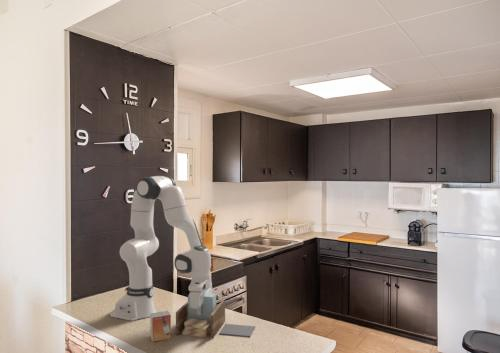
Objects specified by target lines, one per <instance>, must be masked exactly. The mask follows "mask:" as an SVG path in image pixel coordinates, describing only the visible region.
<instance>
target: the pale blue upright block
mask: <svg viewBox="0 0 500 353" xmlns="http://www.w3.org/2000/svg"><path fill="white" fill-rule="evenodd" d="M189 295H190V293H189V294H188V295H187V301H188V319H190V318H194V319H200V320H206V321H208V323H210V315H211V313H212V312H213V311H214V310H215V309H216V306H217V293H212V294H211V293H207V294H206V295H205V296H204V303H203V304H202V306H201V310H202V314H201V315H197V310H196V309H191V307H190V296H189Z"/></svg>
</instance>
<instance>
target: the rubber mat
mask: <svg viewBox="0 0 500 353" xmlns="http://www.w3.org/2000/svg"><path fill="white" fill-rule="evenodd" d="M255 328H256V326H255V325H246V324H245V325H244V324H243V325H242V324H233V323H231V324H230V323H224V324H223V326H222V327H221V330H219V332H218V335H223V336H234V337H244V338H251V336H252V334H253V332H254V330H255Z"/></svg>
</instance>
